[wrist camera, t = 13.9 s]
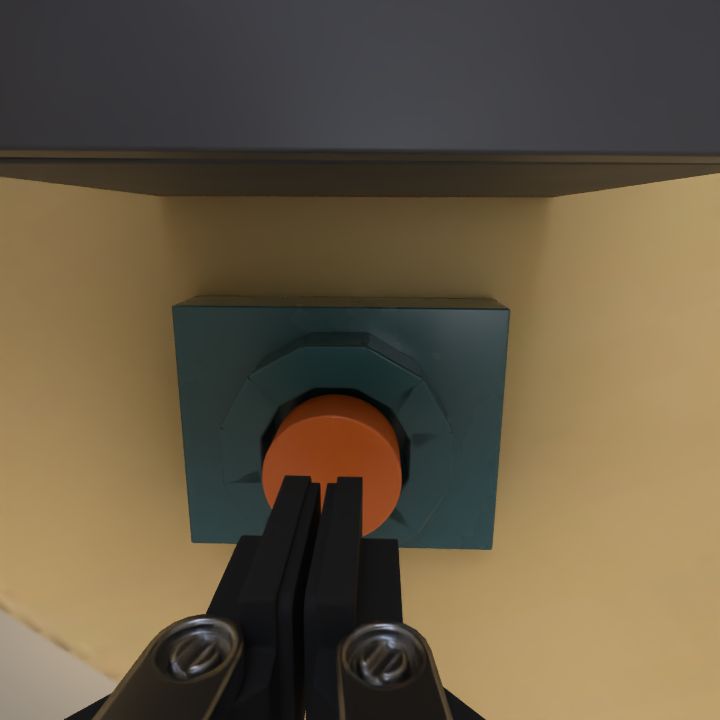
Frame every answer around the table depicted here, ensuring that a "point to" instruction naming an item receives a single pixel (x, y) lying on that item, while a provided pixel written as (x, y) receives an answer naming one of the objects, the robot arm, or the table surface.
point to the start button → (338, 452)
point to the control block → (353, 378)
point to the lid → (362, 80)
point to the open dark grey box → (344, 176)
